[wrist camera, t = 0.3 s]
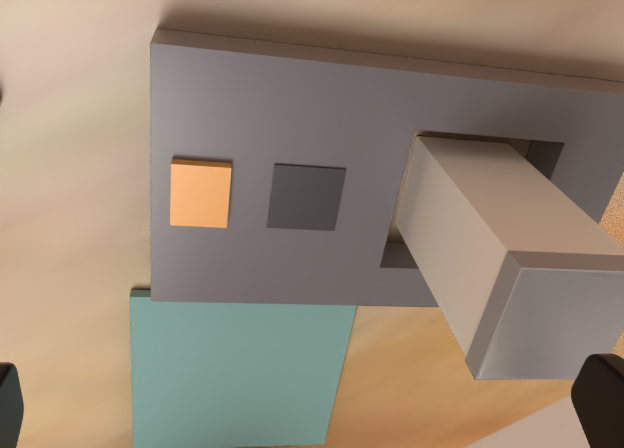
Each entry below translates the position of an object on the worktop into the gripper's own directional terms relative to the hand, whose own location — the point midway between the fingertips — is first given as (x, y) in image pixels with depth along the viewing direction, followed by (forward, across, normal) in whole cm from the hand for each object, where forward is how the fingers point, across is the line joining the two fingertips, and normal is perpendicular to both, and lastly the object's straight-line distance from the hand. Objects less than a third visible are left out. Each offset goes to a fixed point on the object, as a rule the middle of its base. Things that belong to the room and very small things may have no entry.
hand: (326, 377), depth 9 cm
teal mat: (+14, 0, +14) cm, 20 cm away
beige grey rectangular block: (+14, -8, +3) cm, 16 cm away
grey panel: (+14, -5, +3) cm, 15 cm away
